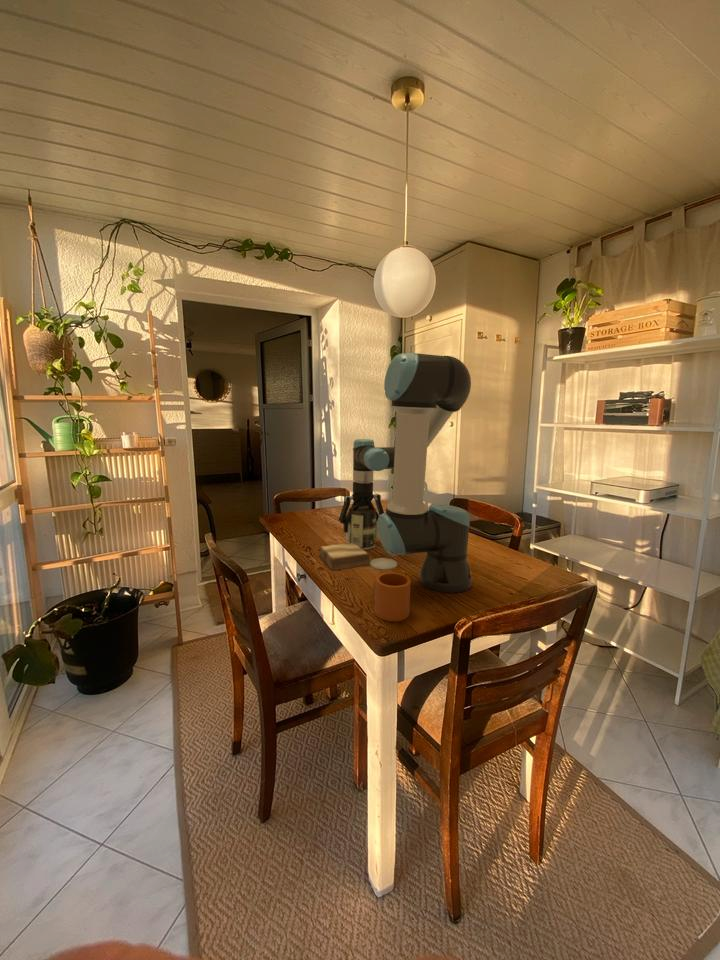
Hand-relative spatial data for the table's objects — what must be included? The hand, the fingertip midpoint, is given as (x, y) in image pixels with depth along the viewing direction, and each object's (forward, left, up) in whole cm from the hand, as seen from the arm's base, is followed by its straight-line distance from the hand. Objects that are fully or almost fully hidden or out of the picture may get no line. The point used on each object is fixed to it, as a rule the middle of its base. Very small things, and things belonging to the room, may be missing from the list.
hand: (361, 538), depth 150 cm
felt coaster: (-20, +1, -2) cm, 20 cm away
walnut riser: (-12, +12, -2) cm, 17 cm away
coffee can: (0, 0, -3) cm, 3 cm away
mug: (-48, +13, -3) cm, 50 cm away
